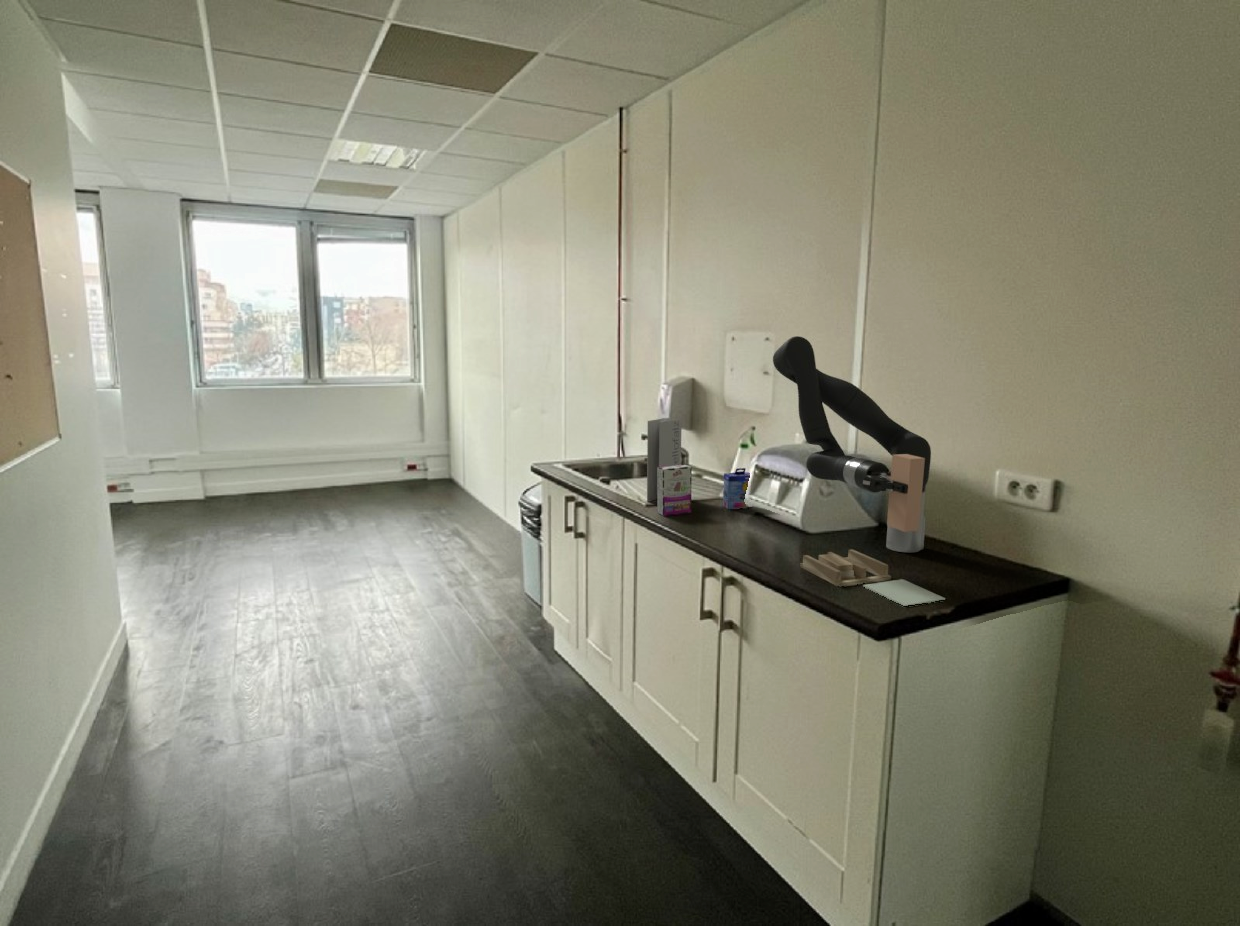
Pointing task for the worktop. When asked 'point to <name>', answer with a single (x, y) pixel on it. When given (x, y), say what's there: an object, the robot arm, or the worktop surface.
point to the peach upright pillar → (906, 505)
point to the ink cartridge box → (735, 489)
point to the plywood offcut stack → (839, 565)
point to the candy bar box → (674, 490)
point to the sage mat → (903, 592)
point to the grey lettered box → (662, 450)
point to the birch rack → (859, 567)
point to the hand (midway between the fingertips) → (914, 488)
